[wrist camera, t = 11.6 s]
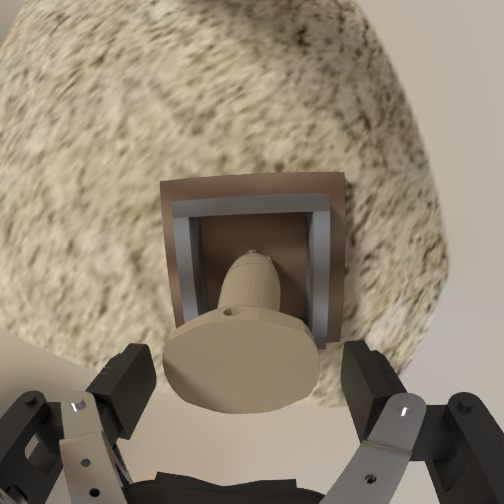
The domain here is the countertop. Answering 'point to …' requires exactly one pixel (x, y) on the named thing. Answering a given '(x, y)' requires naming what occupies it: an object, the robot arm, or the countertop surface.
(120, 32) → the countertop surface
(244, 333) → the handle
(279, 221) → the socket block
